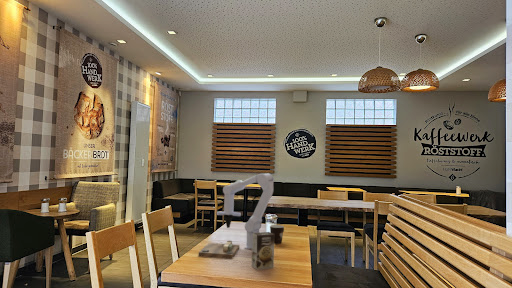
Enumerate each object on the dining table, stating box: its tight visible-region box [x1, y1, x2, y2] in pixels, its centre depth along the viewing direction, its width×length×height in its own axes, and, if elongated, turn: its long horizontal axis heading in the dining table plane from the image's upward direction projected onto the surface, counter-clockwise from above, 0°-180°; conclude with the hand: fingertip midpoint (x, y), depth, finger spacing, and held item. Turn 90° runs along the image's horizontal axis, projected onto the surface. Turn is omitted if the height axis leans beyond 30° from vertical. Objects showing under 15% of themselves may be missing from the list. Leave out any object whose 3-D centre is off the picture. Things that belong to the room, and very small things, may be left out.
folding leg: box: [223, 240, 233, 251], centre depth 191 cm, size 12×3×3 cm, turn 173°
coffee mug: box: [269, 224, 285, 245], centre depth 216 cm, size 12×9×10 cm
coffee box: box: [251, 231, 275, 271], centre depth 167 cm, size 9×6×16 cm
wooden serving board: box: [198, 242, 240, 259], centre depth 191 cm, size 18×20×4 cm
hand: (228, 227), depth 211 cm, fingers closed
